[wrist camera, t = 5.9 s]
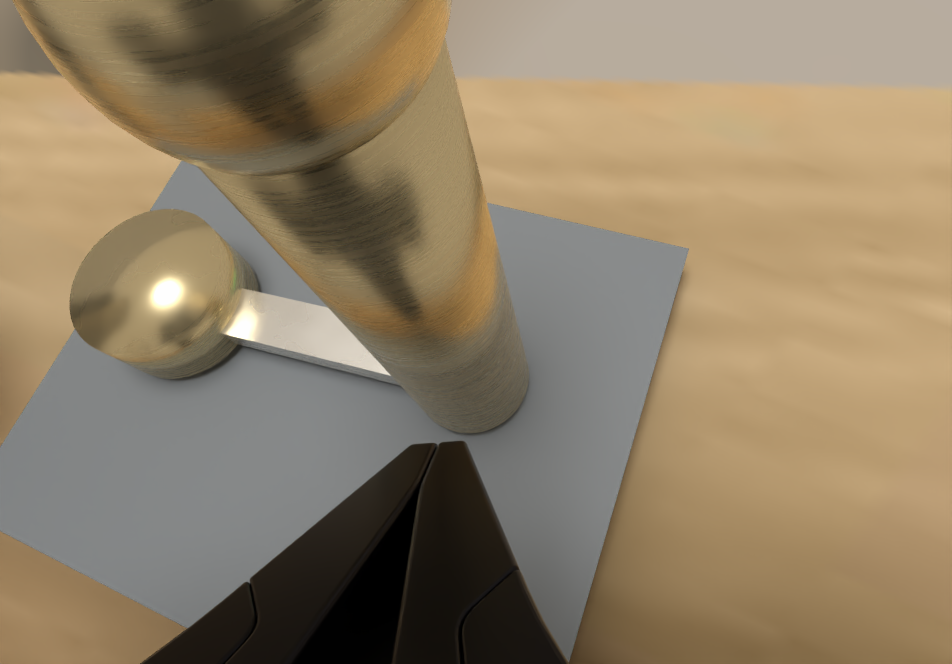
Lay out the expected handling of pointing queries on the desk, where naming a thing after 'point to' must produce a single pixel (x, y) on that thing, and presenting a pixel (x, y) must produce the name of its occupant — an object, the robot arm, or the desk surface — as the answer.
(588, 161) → the desk surface
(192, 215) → the brass crank handle
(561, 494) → the gray board
